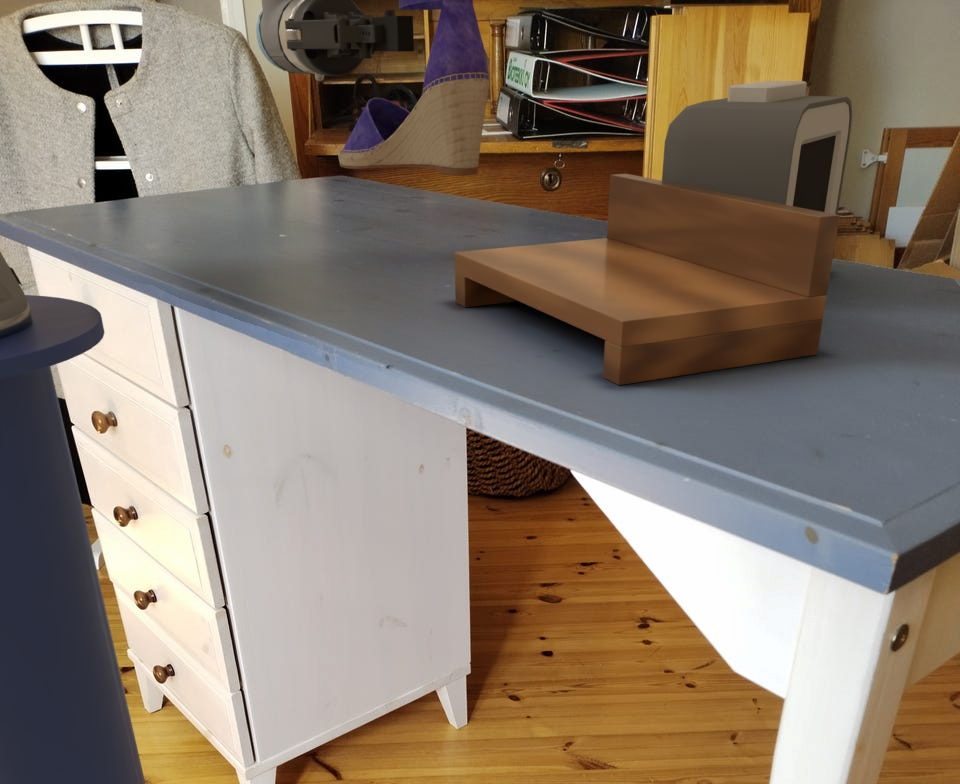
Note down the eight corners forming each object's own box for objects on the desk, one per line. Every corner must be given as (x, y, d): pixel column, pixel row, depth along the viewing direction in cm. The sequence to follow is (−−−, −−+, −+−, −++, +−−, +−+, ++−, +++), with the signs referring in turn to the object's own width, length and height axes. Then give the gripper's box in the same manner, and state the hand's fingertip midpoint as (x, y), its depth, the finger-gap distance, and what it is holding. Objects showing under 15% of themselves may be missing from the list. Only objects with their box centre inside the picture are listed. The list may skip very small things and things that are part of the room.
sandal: (397, 161, 105) (389, -12, 97) (503, 174, 90) (502, -28, 83) (325, 165, 101) (310, -13, 94) (423, 180, 86) (415, -31, 79)
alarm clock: (771, 306, 82) (800, 88, 74) (642, 291, 87) (657, 86, 79) (828, 271, 94) (858, 79, 86) (712, 260, 99) (731, 78, 91)
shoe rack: (618, 385, 64) (628, 234, 60) (455, 302, 85) (452, 185, 80) (817, 354, 70) (840, 215, 65) (619, 284, 90) (626, 173, 86)
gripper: (383, 74, 112) (472, 80, 94) (268, 76, 107) (338, 83, 89) (379, -6, 108) (472, -16, 90) (260, -8, 104) (331, -18, 85)
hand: (405, 33), depth 90 cm, fingers closed
